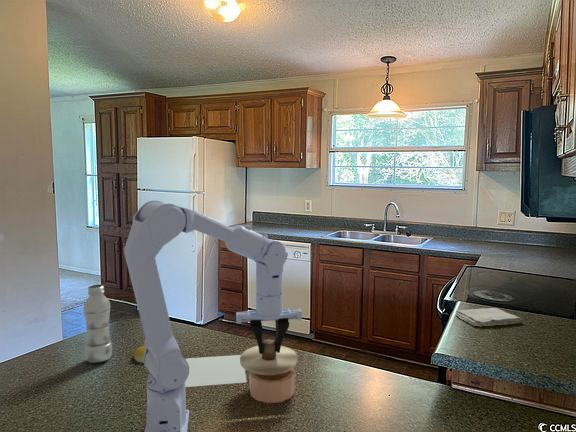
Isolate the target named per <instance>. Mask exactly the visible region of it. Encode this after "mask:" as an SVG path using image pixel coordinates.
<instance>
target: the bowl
mask: <svg viewBox="0 0 576 432" xmlns="http://www.w3.org/2000/svg"><path fill="white" fill-rule="evenodd" d="M294 368H295V367H294ZM294 368H293V369H292V370H290V371H288V372H285V373H282V374H277V375H260V374H255V373H251V372H249V393H250V397H252V398H254V400H256V401H258V402H262V403H267V404H273V403H274V404H275V403H283V402H284V401H287V400H289V399H291V398H292V397H293V396H294V394H295V393H296V370H295V369H294Z"/></svg>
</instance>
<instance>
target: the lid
mask: <svg viewBox="0 0 576 432" xmlns="http://www.w3.org/2000/svg"><path fill="white" fill-rule="evenodd" d="M262 346H263V354H259V348H258V345H256V346H253V347H249V348H248V349H246V350H245V351H243V352H242V353H241V354H240V355H241V356H240V364H241V366H242V367H243V368H244V369H245V371H247V372H249V373H250V372H251V373H255V374H260V375H277V374H282V373H285V372H288V371H290V370H292V369H293V368H296V366H297V365H298V361H299V359H298V358H299V357H298V354H297V353H296V351H295V350H293V349H291V348H289V347H287V346H284V345H281V348H280V353H277V352H276V340H274V339H264V340H262Z"/></svg>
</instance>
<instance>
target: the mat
mask: <svg viewBox="0 0 576 432" xmlns="http://www.w3.org/2000/svg"><path fill="white" fill-rule="evenodd" d="M240 356H241V354H234V355H232V354H231V355H221V356H219V355H218V356H204V357H203V356H202V357H190V358H185V360H186V361H187V362H188V365H189V375H188V378H187V379H186V381H185V388H193V387H195V388H196V387H207V386H221V385H232V384H245V383H247V376H246V375H247V374H246V370H245V369H244V368H243V367H242V366H241V364H240Z"/></svg>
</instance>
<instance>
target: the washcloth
mask: <svg viewBox="0 0 576 432" xmlns="http://www.w3.org/2000/svg"><path fill="white" fill-rule="evenodd" d="M455 313H456V314H455V315H459V316H461V317H463V318H465V319H467V320H469V321H471V322H473V323H486V322H505V321H520V320H521V321H522V322H523V319H522V318H521V317H519V316H517V315H514V314H512V313H508V312H506V311H504V310H502V309H500V308H498V307H490V308H489V307H488V308H484V307H483V308H472V309H459V310H456V311H455Z"/></svg>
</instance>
